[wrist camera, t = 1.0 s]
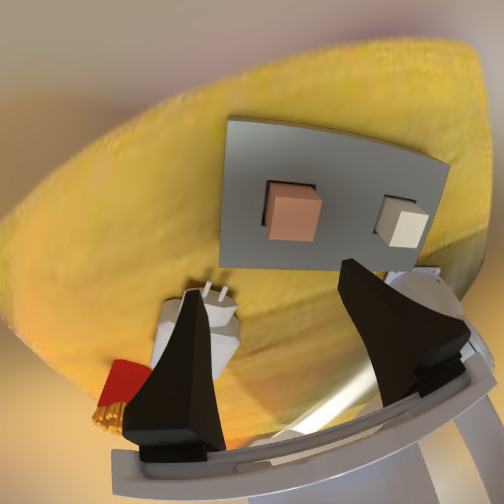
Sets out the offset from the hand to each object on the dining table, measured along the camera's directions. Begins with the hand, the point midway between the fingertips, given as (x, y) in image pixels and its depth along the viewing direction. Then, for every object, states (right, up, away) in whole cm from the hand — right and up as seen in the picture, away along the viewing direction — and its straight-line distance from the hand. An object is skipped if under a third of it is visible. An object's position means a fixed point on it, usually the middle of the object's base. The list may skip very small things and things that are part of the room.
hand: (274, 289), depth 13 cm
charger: (-7, -6, +19) cm, 21 cm away
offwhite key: (+12, +5, +9) cm, 15 cm away
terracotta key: (+2, +6, +8) cm, 9 cm away
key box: (+6, +7, +11) cm, 15 cm away
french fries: (-20, -17, +25) cm, 36 cm away
